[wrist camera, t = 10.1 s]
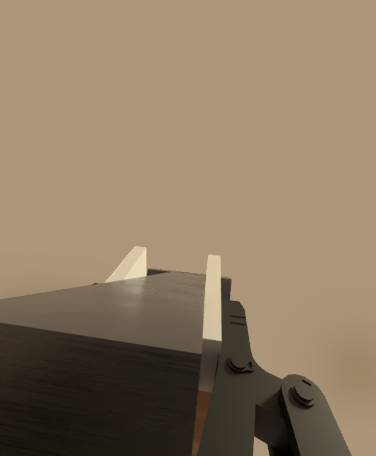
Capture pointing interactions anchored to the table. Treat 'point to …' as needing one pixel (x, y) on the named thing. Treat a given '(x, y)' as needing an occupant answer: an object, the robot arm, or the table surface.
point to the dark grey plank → (103, 367)
